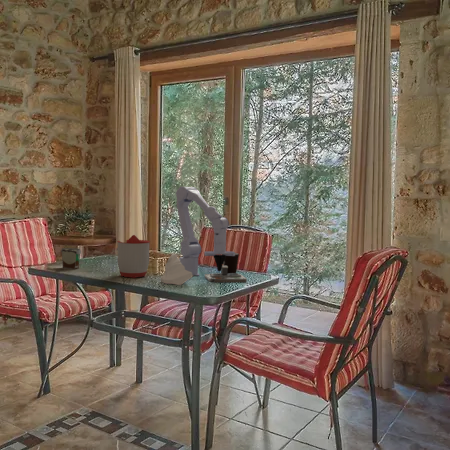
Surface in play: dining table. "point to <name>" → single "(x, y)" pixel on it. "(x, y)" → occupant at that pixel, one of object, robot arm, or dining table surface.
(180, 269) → the beige faceted rock
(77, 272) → the dining table surface
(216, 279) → the grey square tray
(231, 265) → the coffee mug
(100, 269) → the dining table surface
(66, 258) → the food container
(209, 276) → the grey flat slab
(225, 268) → the breaker lever
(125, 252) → the citrus juicer
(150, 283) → the dining table surface
